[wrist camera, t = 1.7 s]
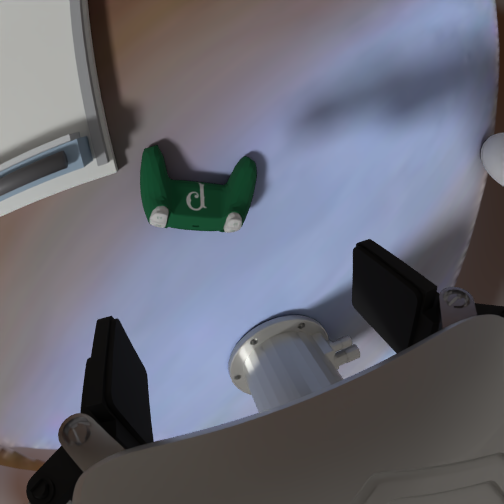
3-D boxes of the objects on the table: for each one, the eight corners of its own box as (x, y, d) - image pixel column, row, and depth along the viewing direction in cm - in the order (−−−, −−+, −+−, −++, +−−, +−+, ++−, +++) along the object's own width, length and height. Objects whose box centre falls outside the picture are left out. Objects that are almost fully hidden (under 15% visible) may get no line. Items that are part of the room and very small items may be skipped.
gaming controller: (141, 167, 25) (134, 231, 23) (144, 139, 21) (134, 208, 19) (243, 178, 28) (247, 239, 26) (258, 154, 25) (265, 219, 23)
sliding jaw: (85, 129, 19) (70, 132, 15) (93, 160, 20) (79, 170, 17) (-31, 182, 17) (-57, 197, 13) (-22, 209, 18) (-47, 227, 14)
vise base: (85, -55, 12) (76, -78, 8) (118, 170, 22) (110, 181, 19) (-53, 18, 9) (-76, 11, 5) (-21, 225, 20) (-44, 244, 16)
